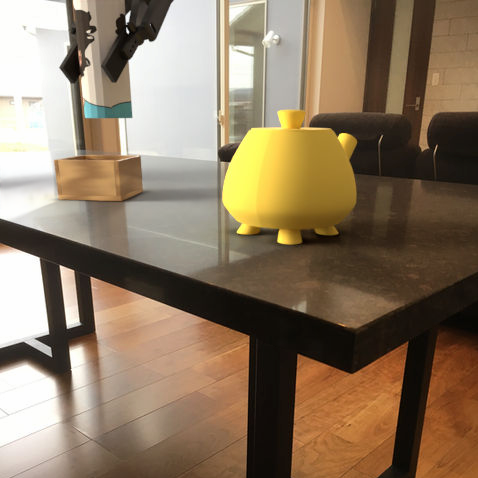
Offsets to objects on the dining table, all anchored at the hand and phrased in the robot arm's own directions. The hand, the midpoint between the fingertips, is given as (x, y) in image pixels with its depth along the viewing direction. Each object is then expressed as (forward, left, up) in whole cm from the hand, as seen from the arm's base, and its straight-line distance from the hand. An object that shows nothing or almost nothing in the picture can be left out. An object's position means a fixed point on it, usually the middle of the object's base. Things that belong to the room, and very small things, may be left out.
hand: (87, 74), depth 70 cm
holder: (-5, +14, -18) cm, 23 cm away
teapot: (+30, -9, -18) cm, 36 cm away
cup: (+1, +3, -6) cm, 7 cm away
